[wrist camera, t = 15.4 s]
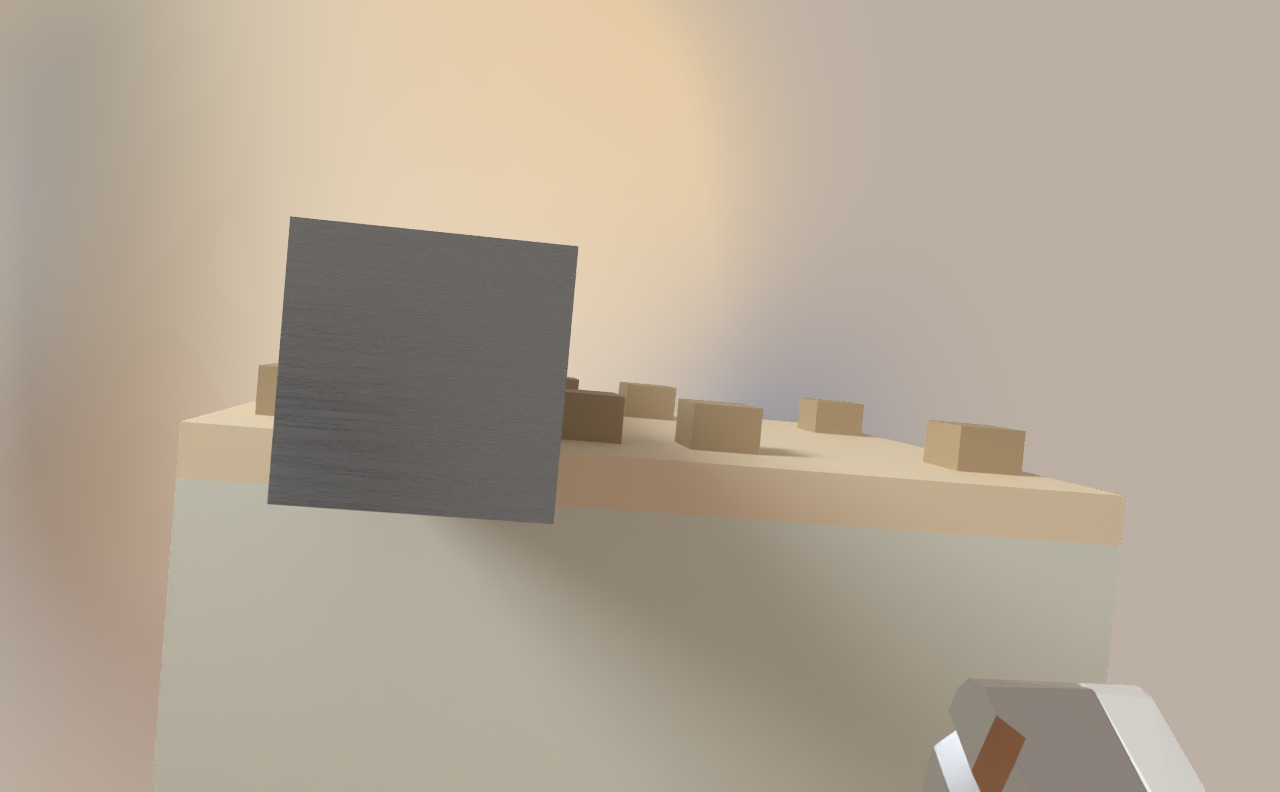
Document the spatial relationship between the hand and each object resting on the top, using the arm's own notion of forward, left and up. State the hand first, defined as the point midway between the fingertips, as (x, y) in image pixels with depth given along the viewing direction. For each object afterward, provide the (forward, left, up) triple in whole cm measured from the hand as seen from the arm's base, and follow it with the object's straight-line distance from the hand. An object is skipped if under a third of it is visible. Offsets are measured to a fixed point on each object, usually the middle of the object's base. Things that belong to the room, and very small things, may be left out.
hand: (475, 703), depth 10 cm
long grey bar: (+8, +15, +1) cm, 17 cm away
